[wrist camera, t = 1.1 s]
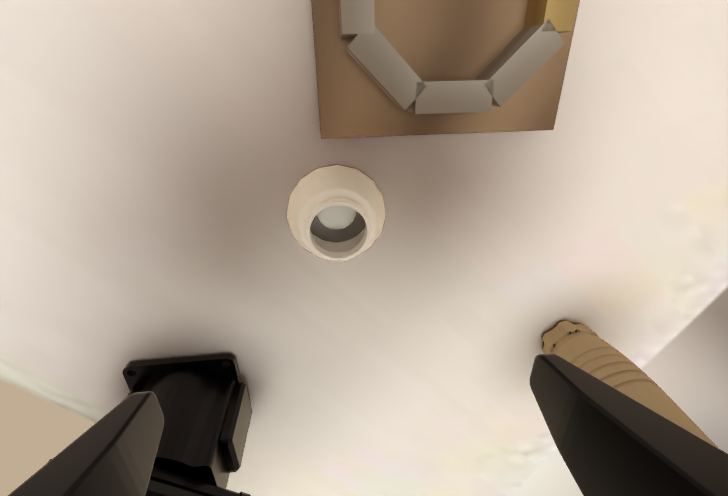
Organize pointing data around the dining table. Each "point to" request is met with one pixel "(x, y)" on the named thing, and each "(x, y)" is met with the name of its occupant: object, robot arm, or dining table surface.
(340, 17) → the hub plate
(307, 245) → the white jar
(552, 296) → the dining table surface
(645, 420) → the robot arm
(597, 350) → the handle
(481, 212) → the dining table surface
